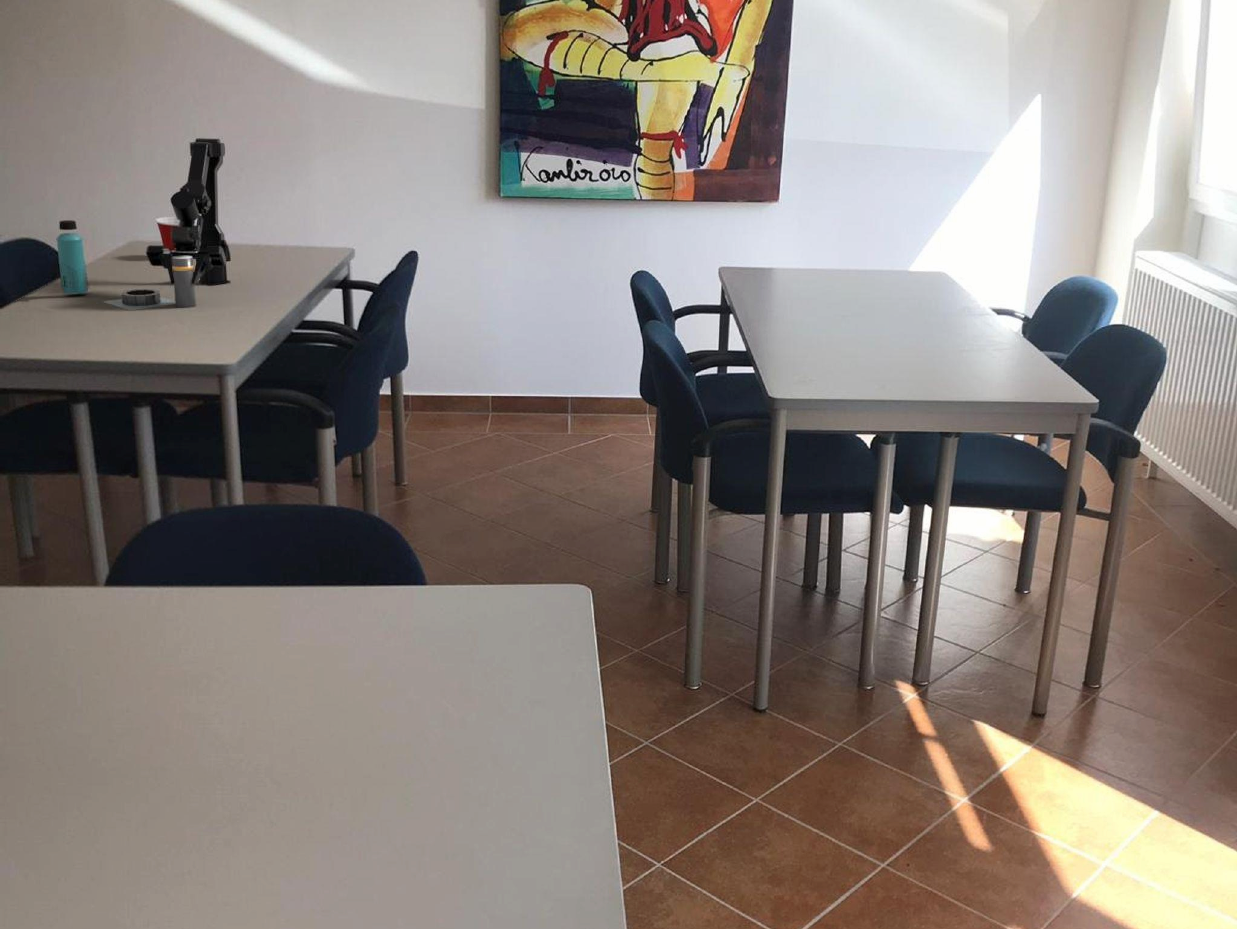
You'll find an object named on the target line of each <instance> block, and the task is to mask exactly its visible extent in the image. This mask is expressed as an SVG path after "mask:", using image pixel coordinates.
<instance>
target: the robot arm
mask: <svg viewBox="0 0 1237 929" xmlns="http://www.w3.org/2000/svg"><path fill="white" fill-rule="evenodd" d="M225 154H226V146H225V143H224V142H221V140H220V138H203V137H202V138H200V137H199V138H195V141H193V142H189V155H190V163H189V169H188V170H189V171H188V176H187V182H186V183H185V184H184V185H182V186H181V187H180V188H179V191H177V192H175V193H173V195H172V196H171V197H170V203H171V206H172V209H173V213H174V215H175V217H176V218H177V219H178V220H180V221H179V227H172V228H171V240H172V241H173V247H174V248H176V249H175V251H172V250H170V249H165V248H164V246H163V244H162V245H161V244H159V245H158V244H149V245H148V246H147V247H146V251H145V254H146V256H147V258H148V261H149V263H150V265H151V266H152V267H162V268H163V269H167V272H168V277H169V280H170V284H171V285H174V279H173V269H172V257H173V256H182V255H185V256H192V257H193V261H195V265H194V275H193V285H196V284H197V282H198V283H201V284H205V285H208V286H214V285H223V284H229V283H231V280H230V279H228V273H227V271H228V270H227V262H231V261H232V259H231V251H230V247H229V245H228V243H227V240H226V239H225V238H226V237H225V233H224V232H223V231H222V229H221V227H220V226H219V204H218V203H219V200H218V199H219V197H218V196H219V194H218V193H219V192H218V190H219V188H218V171H219V170H220V168H221V167H222V165H223V163H224V157H225V156H226V155H225Z"/></svg>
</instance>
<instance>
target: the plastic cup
mask: <svg viewBox="0 0 1237 929" xmlns="http://www.w3.org/2000/svg"><path fill="white" fill-rule="evenodd" d="M179 221H180V220H178V219H177V218H176V216H175V217H174V216H171V217H170V216H165V217H164V216H163V217H158V218H155V223H157V227H158V230H159V234H160V238H161V242H162V245H163V246H164V248H165V249H170V250H172V251H175V249H176V248H174V247H173V241H172V240H171V228H172V227H179Z"/></svg>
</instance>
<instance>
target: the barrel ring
mask: <svg viewBox="0 0 1237 929" xmlns="http://www.w3.org/2000/svg"><path fill="white" fill-rule="evenodd" d="M160 297H161V291H160V290H158V289H150V288H149V289H148V288H141V289H139V288H138V289H137V288H136V289H135V288H134V289H130V290H129V289H128V290H125V291H122V292H121V299H122V304H125V305H130V306H146V305H154V304H158V303H160V302H161V300H160Z"/></svg>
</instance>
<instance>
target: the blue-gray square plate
mask: <svg viewBox="0 0 1237 929" xmlns="http://www.w3.org/2000/svg"><path fill="white" fill-rule="evenodd" d="M160 300H161V302H160V303H158V304H154V305H146V306H130V305H125V304H122V298H118V299H111V300H104V301H102V303H105V304H108V305H111V306H114V307H117V308H121V309H125V310H129V311H135V310H141V309H150V308H155V307H163V306H170V305H175V300H173V299H168V298H165V297H163V296H160Z"/></svg>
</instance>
